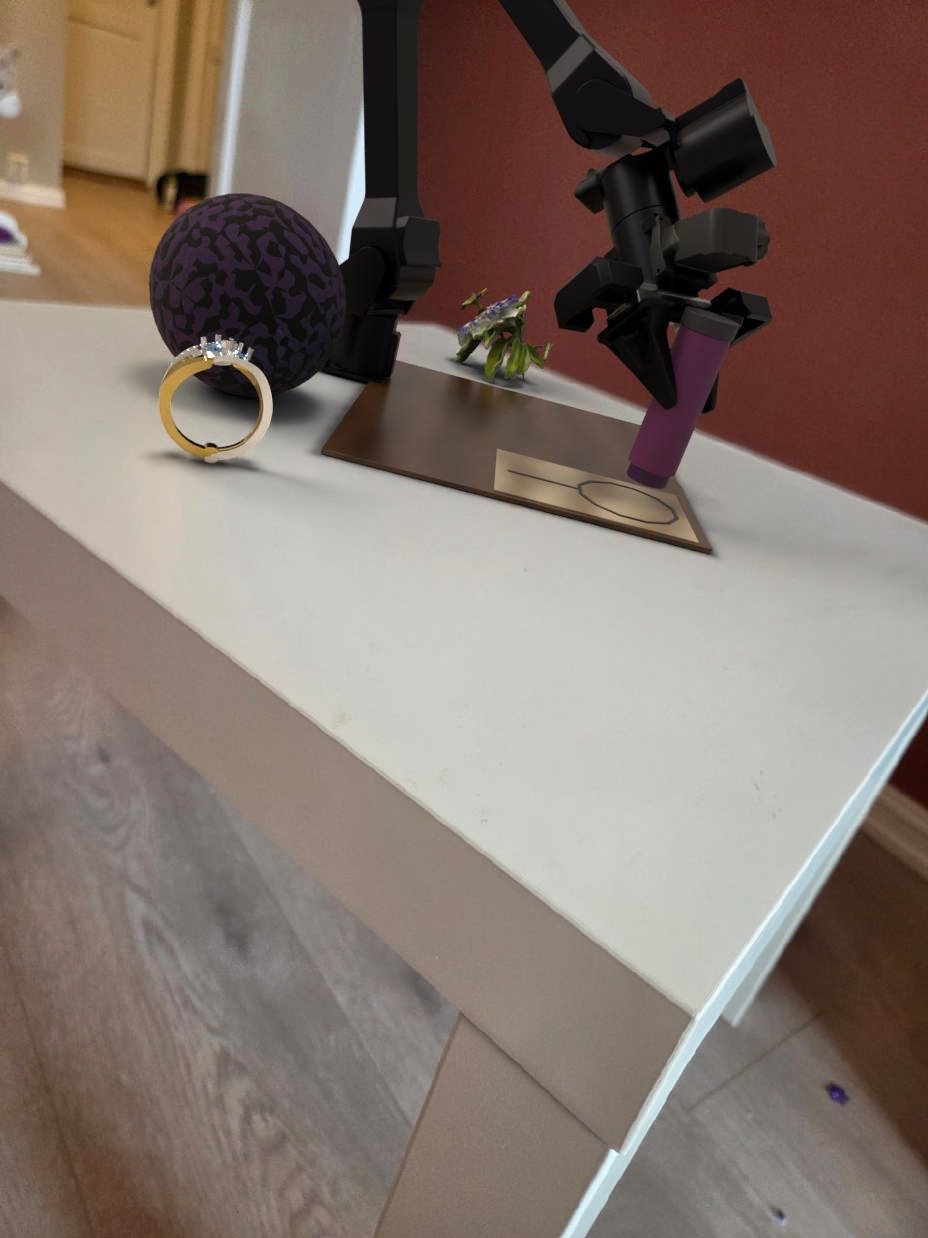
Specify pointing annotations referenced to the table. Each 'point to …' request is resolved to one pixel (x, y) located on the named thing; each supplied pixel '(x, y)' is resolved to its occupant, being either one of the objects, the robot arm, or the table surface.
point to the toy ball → (249, 289)
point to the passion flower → (493, 323)
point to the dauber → (681, 396)
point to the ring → (213, 354)
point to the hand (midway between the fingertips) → (690, 409)
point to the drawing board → (510, 452)
